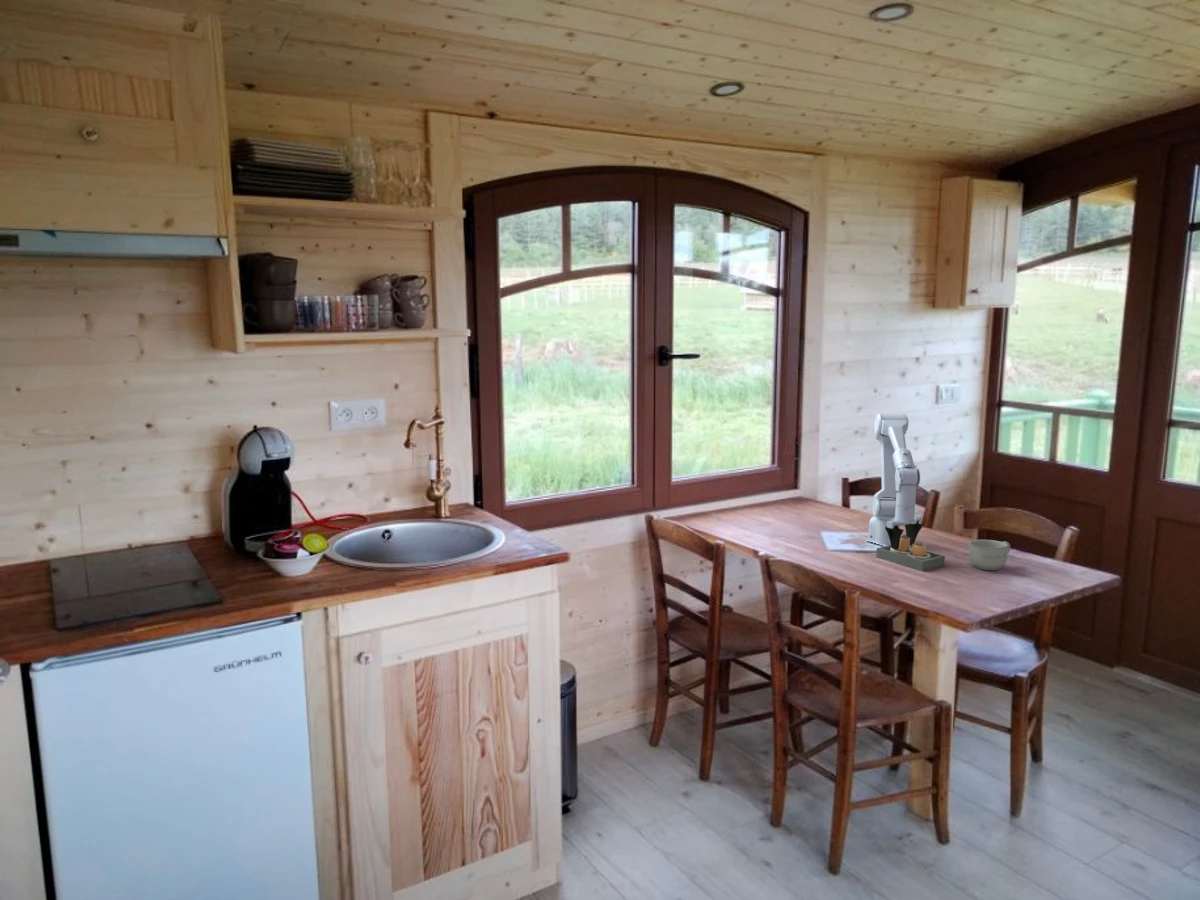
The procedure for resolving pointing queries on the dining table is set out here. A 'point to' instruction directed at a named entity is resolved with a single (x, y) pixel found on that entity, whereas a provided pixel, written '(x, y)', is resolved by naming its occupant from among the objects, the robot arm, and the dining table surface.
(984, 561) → the teacup
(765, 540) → the dining table surface
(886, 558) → the housing
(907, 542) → the orange battery
